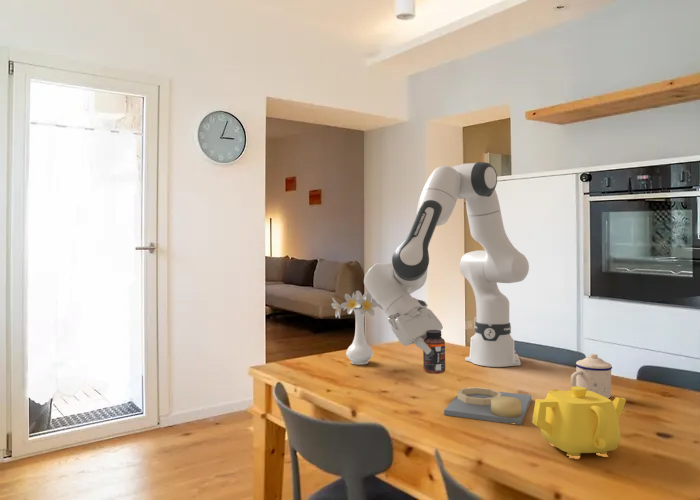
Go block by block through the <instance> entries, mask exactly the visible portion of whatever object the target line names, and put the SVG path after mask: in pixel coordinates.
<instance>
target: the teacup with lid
mask: <svg viewBox="0 0 700 500" xmlns="http://www.w3.org/2000/svg"><path fill="white" fill-rule="evenodd" d="M575 366H576V369H575V370H576V371H574V372H573V373H572V374H571V375H570V384H571V386H572V387H575V386H579V387H584V388H586V389H587V390H588V391H592V392H595V393H597V394H599V395H602V396H604V397H606V398H610V397H611V398H612V369H613V367H612V364H611V363H610V362H607V361H605V360H603V359H602V358H600V357H599V355H598V354H597V353H589V357H585V358H583V359H580V360H577V361H576V362H575ZM611 398H610V399H611Z"/></svg>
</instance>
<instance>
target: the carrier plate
mask: <svg viewBox="0 0 700 500" xmlns="http://www.w3.org/2000/svg"><path fill="white" fill-rule="evenodd" d="M530 401H532V395H531V394H524V393H523V394H522V393H516V392H515V393H513V392H508V391H507V392H505V391H497V390H495V389H492V388H488V387H486V388H485V387H476V386H472V387H463V388H460V389H459V390H458V391H457V393H456V395H455V397H454V398H453V399H452V401H450V402H449V404H448V405H447V406H446V407H445V408H444V410H443V415H444V416H450V417H458V418H465V419H471V420H472V419H473V420H479V421H486V422H493V421H494V422H495V423H500V422H503V423H502V424H508V423H515V424H520V425H519V426H522V424H523V422H522V421H524V419H525V417H526V414H527V412H528V410H527V409H529V407H530V405H531V402H530ZM529 404H530V405H529ZM528 406H529V407H528ZM526 411H527V412H526ZM524 416H525V417H524ZM515 424H514V425H515Z"/></svg>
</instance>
